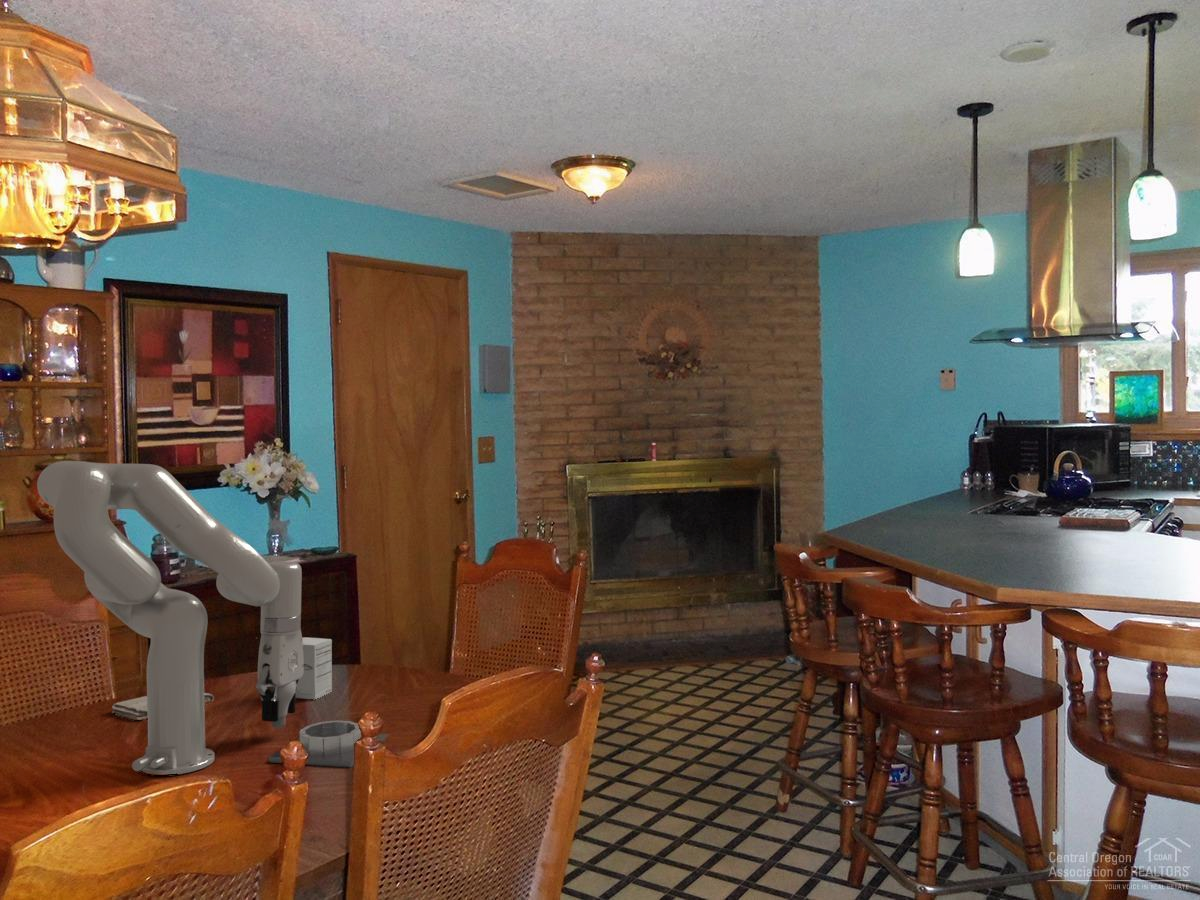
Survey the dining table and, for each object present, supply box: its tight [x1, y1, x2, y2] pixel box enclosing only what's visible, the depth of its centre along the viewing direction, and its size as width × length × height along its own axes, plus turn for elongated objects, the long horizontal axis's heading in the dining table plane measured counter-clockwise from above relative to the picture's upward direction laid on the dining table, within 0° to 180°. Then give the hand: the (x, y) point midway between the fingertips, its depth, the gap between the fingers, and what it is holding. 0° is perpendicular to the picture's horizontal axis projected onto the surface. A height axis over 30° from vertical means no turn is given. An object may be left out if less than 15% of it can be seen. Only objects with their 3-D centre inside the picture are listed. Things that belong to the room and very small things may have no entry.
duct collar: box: [268, 720, 389, 769], centre depth 182 cm, size 16×16×4 cm
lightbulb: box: [268, 681, 296, 730], centre depth 190 cm, size 6×6×11 cm
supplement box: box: [295, 637, 333, 701], centre depth 221 cm, size 7×7×13 cm
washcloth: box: [111, 692, 215, 720], centre depth 212 cm, size 12×18×3 cm, turn 147°
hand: (278, 715), depth 189 cm, fingers closed on lightbulb, 5 cm apart
